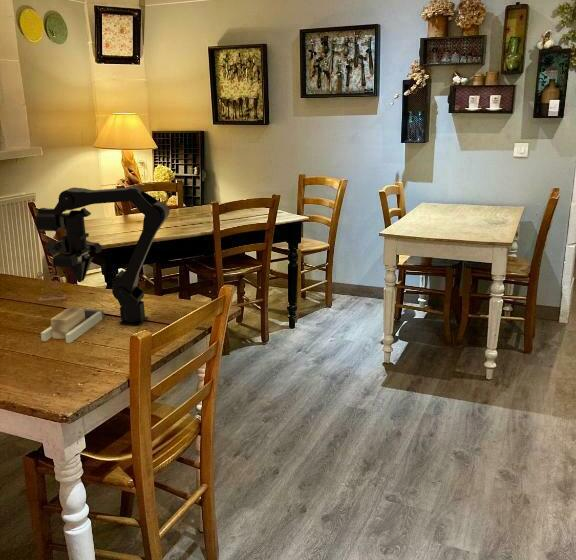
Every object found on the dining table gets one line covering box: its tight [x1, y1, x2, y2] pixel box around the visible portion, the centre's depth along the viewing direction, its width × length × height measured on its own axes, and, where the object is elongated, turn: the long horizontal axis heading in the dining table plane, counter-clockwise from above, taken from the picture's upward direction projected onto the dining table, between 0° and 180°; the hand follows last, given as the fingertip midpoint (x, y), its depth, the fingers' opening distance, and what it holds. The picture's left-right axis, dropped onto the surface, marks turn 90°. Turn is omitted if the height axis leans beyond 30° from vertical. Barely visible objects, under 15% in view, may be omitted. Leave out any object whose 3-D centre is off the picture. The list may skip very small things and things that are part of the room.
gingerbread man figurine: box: [36, 265, 68, 304], centre depth 199 cm, size 9×4×12 cm, turn 104°
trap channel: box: [40, 308, 105, 344], centre depth 176 cm, size 9×20×2 cm, turn 170°
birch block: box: [50, 307, 85, 340], centre depth 173 cm, size 5×10×6 cm, turn 170°
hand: (80, 281), depth 178 cm, fingers closed
